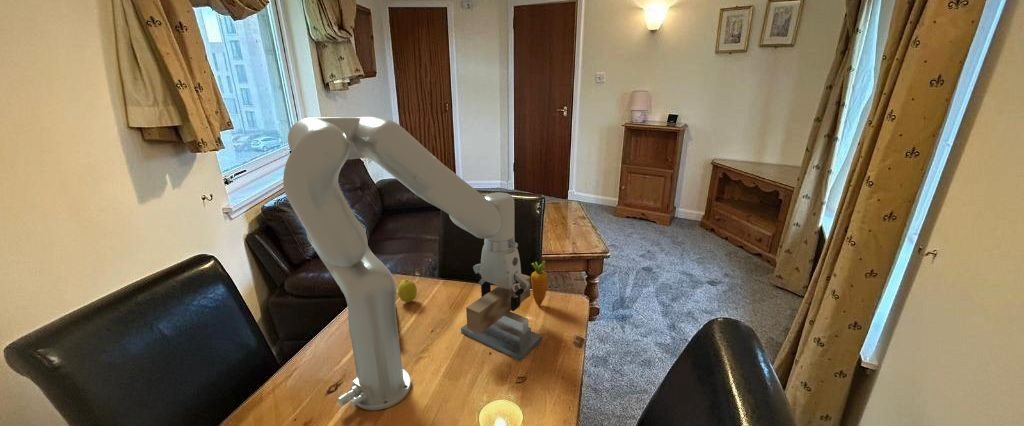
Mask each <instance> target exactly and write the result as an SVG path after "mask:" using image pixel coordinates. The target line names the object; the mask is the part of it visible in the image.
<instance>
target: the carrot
mask: <svg viewBox="0 0 1024 426" xmlns="http://www.w3.org/2000/svg"><path fill="white" fill-rule="evenodd" d="M545 264H546V261H545V260H542V262H541V263H540V264H539V263H538V262H537V261H534V262H532V263H531V266H532V267H533V269H534V271H533V272H532V273H531V275H530V277H531V278H530V285H531V291H532V295H533V298H534V302H535V304H536V305H537V306H538V307H539V306H541V305H542V304H543V301H544V300H545V298H546V294H547V290H548V274H547V272H546V271H544V269H545Z"/></svg>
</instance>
